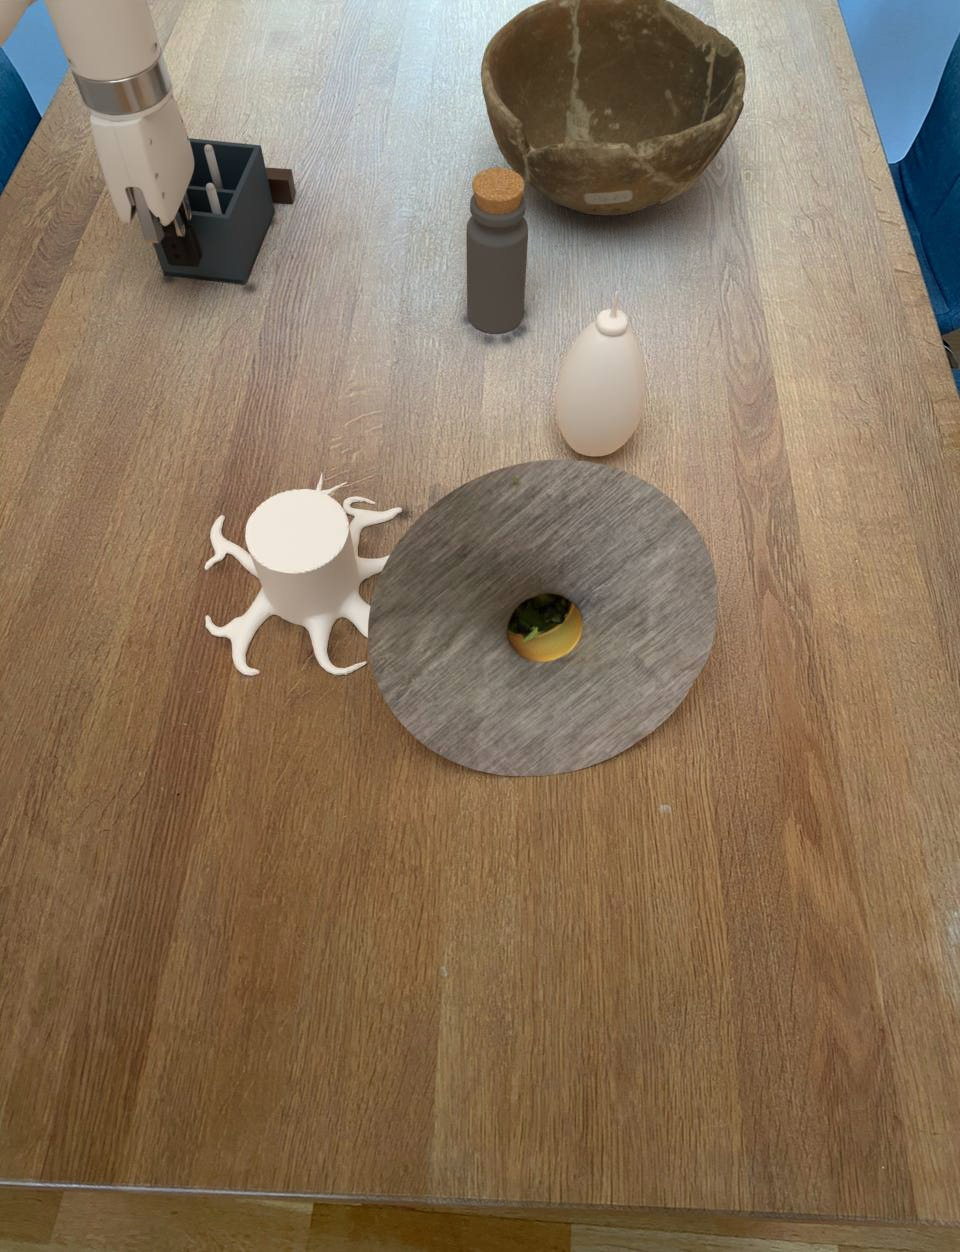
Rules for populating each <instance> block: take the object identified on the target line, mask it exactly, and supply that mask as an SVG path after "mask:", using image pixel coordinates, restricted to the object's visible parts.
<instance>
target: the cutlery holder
mask: <svg viewBox="0 0 960 1252" xmlns="http://www.w3.org/2000/svg"><path fill="white" fill-rule="evenodd" d="M188 138H189V141H190V144H191V148H192V152H193V157H194V171H193V174H192V177H191V180H190V182H189V185H188V188H187V196H188V200H189V204H190V208H191V212H192V218H191V220H190V221H188V222H193V225H194V228H195V231H196V234H197V237H198V240H199V244H200V247H201V250H202V253H203V256H202V258H201V259H200V264H199V266H198V267H189V266H172V265H170V264H169V263H168V261H167V259H166V256H165V253H164V251H163V248H162V245H161V242H160V243H152V246H153V248H154V251H155V253H156V254H155V255H156V257H157V259H158V262H159V265H160V269H161V272H162V274H163V276H166V277H174V278H181V279H182V278H183V279H192V280H201V281H210V282H220V283H226V284H227V283H229V284H236V285H237V284H238V285H246V284H247V282H248V280H249V277H250V275H251V272H252V270H253V267H254V266H255V262H256V261H257V257H258V255H259V253H260V250H261V247H262V246H263V243H264V240H265V238H266V235H267V233H268V230H269V228H270V226H271V223H272V221H273V218H274V216H275V213H276V211H275V206H274V203H273V201H272V196H271V191H270V187H269V182H268V177H267V172H266V168H267V166H266V164H265V159H264V154H263V149H262V145H261V144H251V143H242V142H241V143H240V142H231V141H221V140H211V139H202V138H194V137H193V138H192V137H188Z"/></svg>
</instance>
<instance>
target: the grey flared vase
mask: <svg viewBox="0 0 960 1252" xmlns="http://www.w3.org/2000/svg"><path fill="white" fill-rule="evenodd" d="M389 555H390V556H389V558H388V560H387V561H386V563H385V565H384V567H383V569H382V572H380V574H379V576H378V579H377V581H376V584H375V587H374V591H373V594H372V598H371V602H370V612H369V620H368V638H367V644H368V654H369V660H370V664H371V668H372V672H373V675H374V679H375V681H376V684H377V686H378V689H379V691H380V694H381V695H382V697H383V699H384V701H385V703H386V704H387V706H388V707H389V709H390V710H391V712H392V714H393V715H394V716H395V717H396V719H397V720H398V721H399V722H400V724H401V725H402V726H403V727H404V728H405V729H406V730H407V731H408V732H409V734H411V735H412V736H413V737H414V738H415V739H416V740H417V741H419V743H421V744H423V746H425V747H426V748H428V749H429V750H431V751H433V752H434V753H435V754H437V755H439V756H441V757H443V758H445V759H447V760H449V761H450V762H453V763H456V764H458V765H460V766H463V767H466V768H468V769H471V770H475V771H477V772H478V771H479V772H482V773H487V774H491V775H497V776H506V777H507V776H510V777H546V776H554V775H560V774H565V773H570V772H571V773H572V772H573V771H574V772H575V771H579V770H582V769H586V768H589V767H591V766H594V765H598V764H600V763H602V762H605V761H607V760H609V759H611V758H614V757H616V756H617V755H619V754H621V753H622V752H624V751H625V750H628V749H629V748H631V747H632V746H634V745H635V744H636V743H638V742H640V741H641V740H642V739H644V738H646V737H647V736H649V735H650V734H652V733H653V732H655V730H657V728H658V727H660V726H661V725H662V724H663V723H664V722H665V721H667V719H668V718H669V717H670V716H672V714H673V713H674V712H675V710H676V709H678V707H679V706H680V705H681V703H682V702H683V701H684V699H685V698H686V697H687V696H688V694H689V691H690V690H691V688H692V686H693V684H694V683H695V681H696V679H697V678H698V676H699V675H700V674H701V672H702V670H703V668H704V666H705V665H706V663H707V661H708V658H709V657H710V653H711V650H712V647H713V643H714V639H715V634H716V629H717V618H718V606H719V591H718V581H717V576H716V570H715V566H714V562H713V559H712V557H711V554H710V552H709V549H708V547H707V544H706V542H705V540H704V539H703V537H702V535H701V533H700V532H699V530H698V528H697V527H696V525H695V524H694V523H693V521H692V520H691V519H690V517H689V516H688V515H687V514H686V512H684V510H683V509H682V508H681V507H680V506H679V505H678V504H677V503H676V502H675V501H674V500H673V499H672V498H670V497H669V496H668V495H667V494H666V493H664V492H663V491H662V490H660V489H659V488H658V487H656V486H654V485H653V484H651V483H650V482H648V481H647V480H644V479H642V478H640V477H638V476H637V475H634V474H633V473H630V472H628V471H625V470H623V469H620V468H617V467H613V466H610V465H606V464H603V463H598V462H592V461H587V460H579V459H578V460H576V459H545V460H543V459H541V460H533V461H527V462H522V463H517V464H513V465H509V466H505V467H502V468H497V469H496V470H493V471H490V472H488V473H485V474H482V475H481V476H478V477H475V478H474V479H472V480H469V481H467V482H465V483H463V484H462V485H460V486H458V487H456V488H455V489H453V490H452V491H450V492H449V493H447V494H446V495H444V496H443V497H442V498H440V499H439V500H438V501H436V502H435V503H433V505H431V506H430V507H429V508H428V509H426V511H424V512H423V513H422V514H421V515H420V516H419V517H418V518H417V519H416V520H415V521H414V522H413V523H412V524H411V525H410V527H409V528H408V529H407V530H406V531H405V533H404V534H403V535H402V537H401V538H399V540H398V542H397V543H396V544H395V546H394V548H393V550H392V551H391V552H390V554H389Z"/></svg>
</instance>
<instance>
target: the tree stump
mask: <svg viewBox="0 0 960 1252" xmlns="http://www.w3.org/2000/svg"><path fill="white" fill-rule="evenodd" d="M323 474H324V473H323V472H321V474H320V478H319V481H318V482H317V486H316V489H310V488H299V489H296V488H293V489H291V490H285V491H284V492H283V491H281V492H279V493H276V494H274V495H272V496H270V497H269V498H267V499H265V500H264V501H263V502H261V503H260V505H258V506H257V507H256V508H255V510H254V511H253V512H252V513H251V515H250V516H249V518H248V519H247V522H246V526H245V532H244V533H245V535H244V539H245V544H246V547H247V550H248V551H246V550H245V549H244V548H243V547H241V546H240V545H238V544H236V543H234V542H232V541H231V540H228V539H227V538H225V537H224V536H223V532H222V529H223V526H224V521H225V519H226V516H225V515H223V514H220V515H219V516H217V518H216V520H215V521H214V522H213V524H212V527H211V529H210V534H209V537H210V543H211V546H212V548H213V551H214V556H212V557H211V558H210V559H208V560H207V561H206V562H205V564H204V570H205V571H208V570H210V568H212V567H213V566H214V565H215V564H217V563H219V562H221V561H223V560H224V558H225V557H226V555H228V554H229V555H231V556H233V558H234V559H236V560H237V561H238V562H239V563H240V564H241V566H243V568H244V569H245V570H247V571H248V572H249V573H250V574H251V575H252V576H254V577H256V578H257V579H258V581H259V582H260V585H261V588H260V589H259V592H258V594H257V595H256V597H255V599H254V600H253V602H252V604H251V605H250V606H249V608H248V609H247V610H246V611H245V613H244V614H243V615H241V616H237V617H235V618H233V619H232V620H230V621H229V622H228V623H227V624H225V625H223V626H217V625H216V624H215V623H214V622H213V620H212V618H211V616H210V615H208V614H207V615H205V617H204V620H205V628H206V629H207V630H208V632H209V633H210V634H211V635H212V636H214V637H218V638H227V639H229V640H230V642H231V654H232V655H231V658H232V660H233V661H232V662H233V664H234V666H235V669H236V670H238V671H239V672H240V673H241V674H243V675H244V676H248V677H249V676H250V677H253V676H256V675H259V674H260V672H261V670H259V669H256V668H253V667H249V666H248V663H247V656H246V654H247V652H248V649H249V647H250V644H251V642H252V640H253V638H254V636H255V635H256V632H257V631H258V630H259V629H260V627H261V626H262V624H263V623H264V622H265V621H266V620H267V619H269V618H270V617H272V616H274V615H275V616H277V617H280V618H281V619H282V620H285V621H287V622H289V623H291V624H293V625H297V626H301V627H304V628H305V630H307V631H308V634H309V637H310V640H311V646H312V649H313V653H314V654H313V655H314V657H315V659H316V661H317V662H318V664H319V666H320V667H321V668H323V669H324V670H325V671H326V672H327V673H330V674H332V675H333V676H343V675H344V676H348V674H351V673H353V672H354V671H357V670H358V669H360V668H362V667H363V666H365V665H366V664H367V663H368V661H366V660H364V661H362V662H358V663H354V664H352V665H351V666H346V667H337V666H336V665H334V664H333V663H332V662H331V660H330V658H329V654H328V647H329V640H330V635H331V633H332V630H333V629H332V628H333V626H334V624H335V623H336V621H337V620H338V619H342V618H344V619H347V620H348V621H349V622H351V623H352V624H353V625H354V626H355V628H356V629H357V630H358V631H359V632H360V633H361V635H363V636H364V637H365V638H367V639H368V620H369V612H370V606H371V604H369V603H368V602H366V601H365V599H363V598H362V597H361V595H360V586H361V584H362V582H363V581H364V580H366V579H370V578H371V577H372V576H375V575H377V574H379V573H380V574H381V572H382V569H383V567H384V565H385V563H386V561H387V560H388V558H389V556H390V554H388V555H386V556H382V557H378V558H367V557H361V556H359V545H360V536H361V533H362V530H363V529H364V528H367V527H370V526H373V525H378V524H381V523H385V522H388V521H391V520H393V519H394V518H395V517H396V516H397V515H398V514H401V513H402V512H403V508H402V507H401V506H397V507H393V508H390V509H388V510H385V511H384V510H383V511H376V510H369V509H362V508H354V507H352V506H351V504H353V503H357V502H359V503H362V502H366V503H367V504H370V505H376V502H375V501H374V500H371V499H369V498H365V497H363V496H358V495H355V496H349V497H347V498H345V499H344V500H343V502H342V505H341V504H340V503H339V502H338V501H337V500H336V499H335V498H333V497H331V496H330V495H331V494H333V493H334V492H336V491H338V490H339V489H341V488H342V487H343V486H344V485H346V484H347V483H348V481H345V482H342V483H340V484H338V485H337V484H336V485H335V486H333V487H331V488H327V489H322V485H323ZM348 515H350V516H352V517H353V519H351V521H350V523H349V519H348Z"/></svg>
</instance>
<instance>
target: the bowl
mask: <svg viewBox="0 0 960 1252" xmlns="http://www.w3.org/2000/svg"><path fill="white" fill-rule="evenodd" d="M745 65H746V64H745V60H744V58H743V55H742V53H741V51H740V48H739V47H738V46H736V44H735V43H734V41H733V40H731V39H730V38H729V37H728V36H727V35H724V34H723V33H721V32H720V31H719V30H718V29H717V28H716V27H714V26H712V25H708V24H705V23H704V22H703V21H702V20H701V19H700V18H698V17H697V16H695V15H693V14H692V13H690V12H689V11H686V9H683V8H681V7H680V6H678V5H677V4H675V3H674V2H671V1H670V0H542V1H540V2H538V3H535V4H532V5H530V6H528V7H526V8H525V9H523V10H521V11H520V12H519V13H517V14H516V15H515V16H514V17H512V18H511V19H510V20H509V21H508V22H506V23H505V24H504V25H503V26H502V27H501V28H500V29H499V30H498V31H496V33H495V34H493V36H492V37H491V39H490V40H489V42H488V43H487V45H486V47H485V49H484V53H483V57H482V60H481V66H480V80H481V81H480V82H481V88H482V95H483V98H484V103H485V107H486V112H487V116H488V120H489V125H490V127H491V131H492V134H493V137H494V139H495V142H496V144H497V146H498V149H499V151H500V153H501V156H502V157H503V158H504V160H505V161H506V162H507V164H508V165H509V166H510V167H511V170H512V171H514V172H516V173H518V174H519V175H520V176H521V177H522V178H523V180H524V182H525V183H527V184H528V185H529V186H530V187H532V188H533V189H535V190H536V191H537V192H539V193H540V194H542V195H544V196H545V197H546V198H548V199H550V200H551V201H554V202H555V203H557V204H559V205H560V206H563V207H565V208H567V209H570V210H573V211H576V212H579V213H583V214H587V215H595V216H617V215H626V214H631V213H634V212H637V211H641V210H644V209H647V208H649V207H651V206H653V205H658V206H659V205H663V204H666V203H667V202H669V201H671V200H673V199H675V198H677V197H678V196H680V195H681V194H683V193H685V192H687V191H688V190H689V189H691V187H693V186H694V185H695V184H696V183H698V180H699V179H700V178H701V177H702V175H703V174H704V172H705V170H706V169H707V168H708V167H709V166H710V165H711V163H712V162H713V161H714V159H715V158H716V157H717V155H718V153H719V152H720V151H721V149H722V147H723V146H724V145H725V142H726V141H727V140H728V138H729V136H730V134H731V133H732V132H733V130H734V128H735V127H736V124H737V123H738V121H739V118H740V116H741V115H742V112H743V109H744V106H745V102H744V94H745V90H746V81H747V79H746V78H747V77H746V75H747V74H746V66H745Z"/></svg>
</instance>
